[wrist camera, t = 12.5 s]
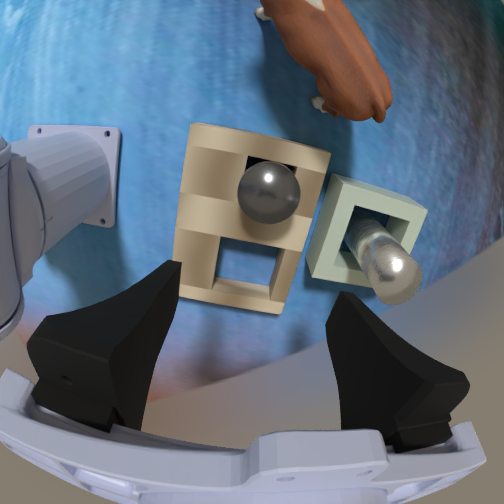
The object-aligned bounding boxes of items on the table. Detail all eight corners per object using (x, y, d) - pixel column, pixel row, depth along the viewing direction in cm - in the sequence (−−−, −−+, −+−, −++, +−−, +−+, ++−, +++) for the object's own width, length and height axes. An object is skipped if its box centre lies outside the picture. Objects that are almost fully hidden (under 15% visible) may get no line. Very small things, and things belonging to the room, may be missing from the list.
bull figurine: (284, -39, 12) (299, -99, 5) (366, 111, 18) (426, 118, 11) (228, -22, 13) (216, -81, 6) (311, 132, 19) (348, 146, 11)
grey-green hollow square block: (305, 257, 23) (311, 277, 20) (331, 172, 20) (343, 182, 17) (379, 271, 24) (392, 291, 21) (409, 197, 21) (427, 210, 18)
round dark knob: (235, 197, 21) (231, 217, 17) (246, 148, 19) (244, 157, 15) (284, 207, 21) (291, 229, 17) (297, 159, 19) (307, 171, 16)
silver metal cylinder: (334, 239, 22) (367, 301, 15) (348, 205, 21) (391, 255, 14) (366, 248, 23) (407, 308, 16) (380, 215, 21) (430, 266, 14)
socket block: (175, 280, 24) (169, 294, 22) (196, 122, 18) (190, 123, 17) (278, 299, 25) (280, 314, 23) (324, 149, 19) (331, 153, 17)
